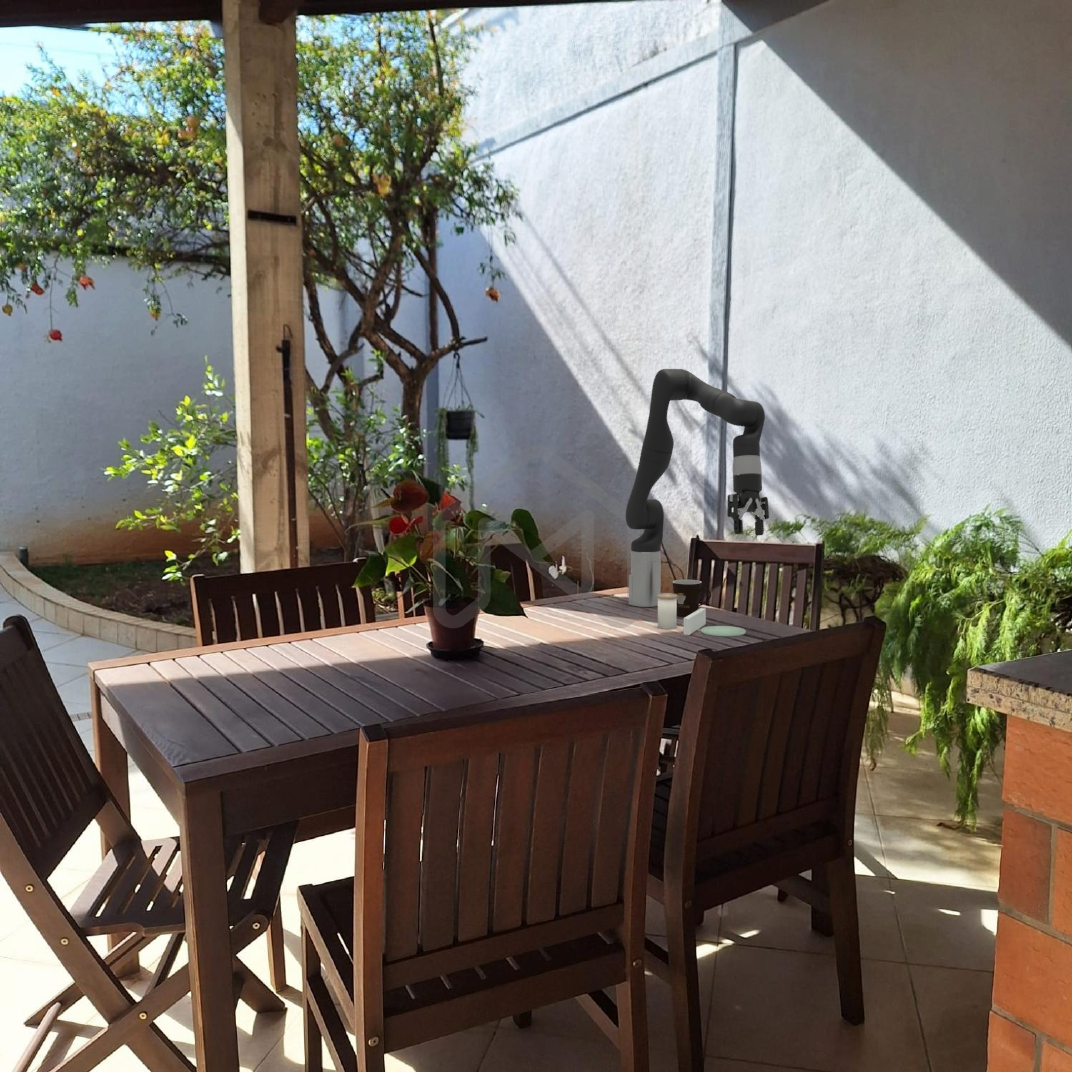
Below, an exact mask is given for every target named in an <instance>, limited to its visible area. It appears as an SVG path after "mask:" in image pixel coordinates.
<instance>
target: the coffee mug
mask: <svg viewBox="0 0 1072 1072" xmlns="http://www.w3.org/2000/svg"><path fill="white" fill-rule="evenodd" d="M702 583H703V582H702V581H701V580H697V579H676V580H672V583H671V584H672V591H673V594H677V617H680V618H685V617H687V616H688V615H690V614H692V613H693V612H695V611H697V610H698V609H700V608H699V607H701V606H704V605H705V604H706V603H708V602H709V601H710V600H711V598H712V593H711V592H712V591H711V590H710V589H709V588H707V587H702ZM702 591H707V592H708V598H707V599H706V600H704V601H703V602H701V603H700V598H701V593H702Z"/></svg>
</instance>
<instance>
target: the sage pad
mask: <svg viewBox="0 0 1072 1072" xmlns="http://www.w3.org/2000/svg"><path fill="white" fill-rule="evenodd" d="M700 629H701V630H700V632H701V633H702V634H704V635H706V636H707V635H708V636H714V637H739V636H743V635H745V634H746V633H747V631H746V629H744V628H742V627H738V626H731V625H730V626H729V625H710V626H705V627H704V626H703V627H701V628H700Z"/></svg>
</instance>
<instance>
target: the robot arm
mask: <svg viewBox="0 0 1072 1072" xmlns="http://www.w3.org/2000/svg"><path fill="white" fill-rule="evenodd" d="M683 400H685V401H691V402H692V401H693V402H696V403H699V406H700V407H701V408H702V409H703V410H704V411H706V412H707V413H710V414H711V415H713V416H716V417H719V418H720V419H721V420H723V421H724V422H726V423H728V424H730V425H732V426H737V427H743V432H742V434H739V435H736V436H735V437H734V438H733V442H732V455H733V460H732V485H733V488H732V489H733V493H730V494H728V495H727V517H728V518H731V519H732V520H733V531H734V534H735V535H741V534H743V533H744V529H743V528H744V527H743V526H744V524H743V522H744V521H743V517H744V515H745V514H746V513H749V514H750V515H751V516H752V517H753V518H754V521H755V522H754V533H755V534H754V535H755V536H763V535H764V532H765V528H764V527H765V526H764V525H765V524H764V522H765V521H766V520H768V519H769V518H770V512H769V498H768V497H767V496H763V497H762V496H761V497H760V492H762V491H763V480H762V479H763V477H762V476H763V475H762V473H763V472H762V460H761V450H760V447H761V446H760V444H761V443H760V441H761V438H762V433H763V429H764V424H765V419H766V416H765V415H766V412H765V409H764V407H763V405H762V404H761V403H760V402H758V401H753V400H746V399H740V398H737V396H735V395H734V394H733V393H731V392H727V391H726V390H723V389H720V388H717V387H714V386H712V385H710V384H709V383H706V382H705V381H704V380H702V379H701V378H699V377H697V376H696V375H695V374H694V373H692V372H690V371H689V370H687V369H683V368H662V369H659V370H658V371H657V372H656V374H655V376H654V379H653V381H652V388H651V397H650V404H649V413H648V419H647V423H646V430H645V434H644V438H643V441H642V447H641V451H640V456H639V462H638V467H637V469H636V475H635V479H634V482H633V486H632V489H631V491H630V495H629V498H628V500H627V505H626V508H625V523H626V524H627V527H628V528H629V529H631V530H636V531H637V530H643V533H642V534H641V535H640V536H639V537H638V538H635V539H634V540H632V542H631V544H630V574H629V575H628V605H629V606H634V607H641V608H649V607H650V608H652V607H658V598H657V594H660V593H661V580H662V579H661V576H662V575H661V572H662V571H661V566H662V565H661V562H662V561H661V554H662V553H661V551H662V550H661V549H662V548H661V546H662V544H663V539H664V523H665V522H664V520H665V514H664V513H665V512H664V507H663V504H662V503H661V502H660V501H659V500H658V499H652V498H651V499H650V498H649V495H650V493H651V491H652V489H653V487H654V486H655V484H656V483H657V482H658V481H659V479H660V478H661V477H662V476H663V475H664V473H665V472H666V471H667V469H668V468H669V465H670V463H671V460H672V455H673V451H674V446H675V445H674V444H675V443H674V437H673V434H672V431H671V428H670V425H669V421H668V411H669V406H670V402H671V401H683Z"/></svg>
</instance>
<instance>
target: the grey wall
mask: <svg viewBox="0 0 1072 1072" xmlns="http://www.w3.org/2000/svg"><path fill="white" fill-rule="evenodd" d="M706 609H707V608H703V607H701V608H698V610H697V611H695V612H693V613H692V614H690V615H688V616H687V617H683V636H690V635H692V634H693V633H695V632H696V631H697V630H699V629H702V628H703V627H704V626H705V625H706V624H707V622H706V621H707V617H706V616H707V610H706Z"/></svg>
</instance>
